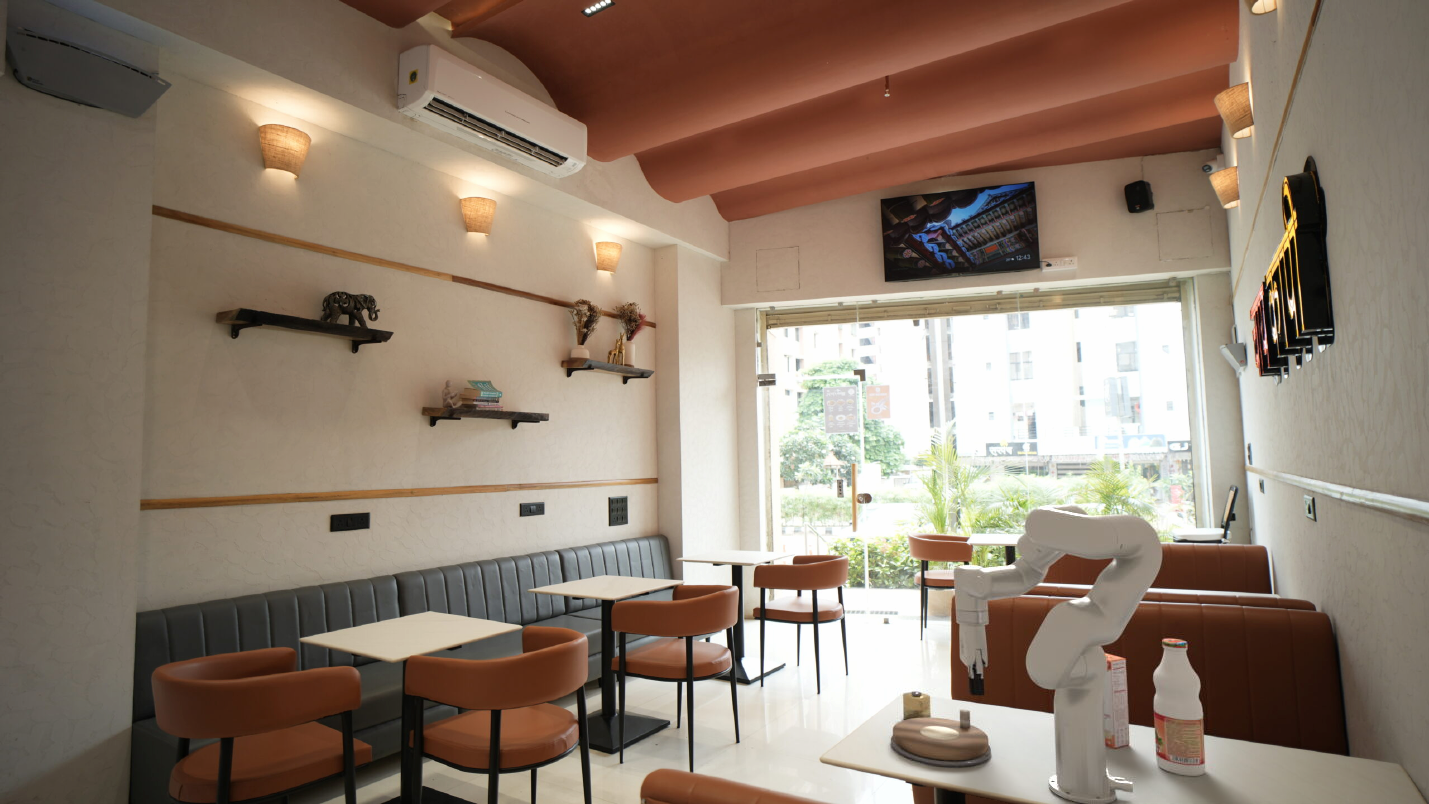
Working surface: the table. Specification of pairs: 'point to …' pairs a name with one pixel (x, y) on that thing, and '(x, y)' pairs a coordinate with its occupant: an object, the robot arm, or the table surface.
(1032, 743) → the table surface
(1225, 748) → the table surface
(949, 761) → the turntable base
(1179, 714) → the fruit juice
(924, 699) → the cover
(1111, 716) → the cracker box
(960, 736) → the turntable
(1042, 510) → the robot arm
